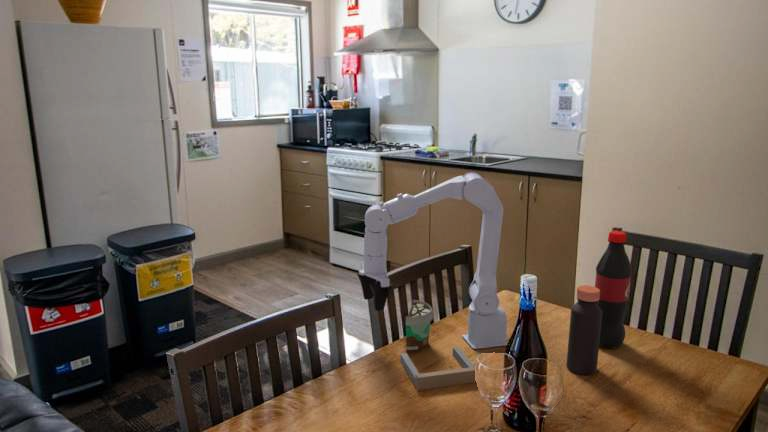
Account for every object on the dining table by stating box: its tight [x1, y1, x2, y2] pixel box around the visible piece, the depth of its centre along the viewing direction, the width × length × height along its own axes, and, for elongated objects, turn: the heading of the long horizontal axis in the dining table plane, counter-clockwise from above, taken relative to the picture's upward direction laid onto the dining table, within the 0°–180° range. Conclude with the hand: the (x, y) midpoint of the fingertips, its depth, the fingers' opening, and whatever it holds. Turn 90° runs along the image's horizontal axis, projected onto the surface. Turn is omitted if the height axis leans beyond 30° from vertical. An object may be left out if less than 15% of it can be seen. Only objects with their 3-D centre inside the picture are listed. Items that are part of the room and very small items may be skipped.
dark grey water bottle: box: [566, 284, 602, 376], centre depth 129 cm, size 7×7×20 cm
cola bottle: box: [594, 230, 633, 349], centre depth 140 cm, size 8×8×30 cm
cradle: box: [399, 346, 476, 391], centre depth 129 cm, size 15×14×3 cm
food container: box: [405, 299, 435, 354], centre depth 142 cm, size 12×6×10 cm, turn 168°
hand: (373, 304), depth 142 cm, fingers open, 7 cm apart
